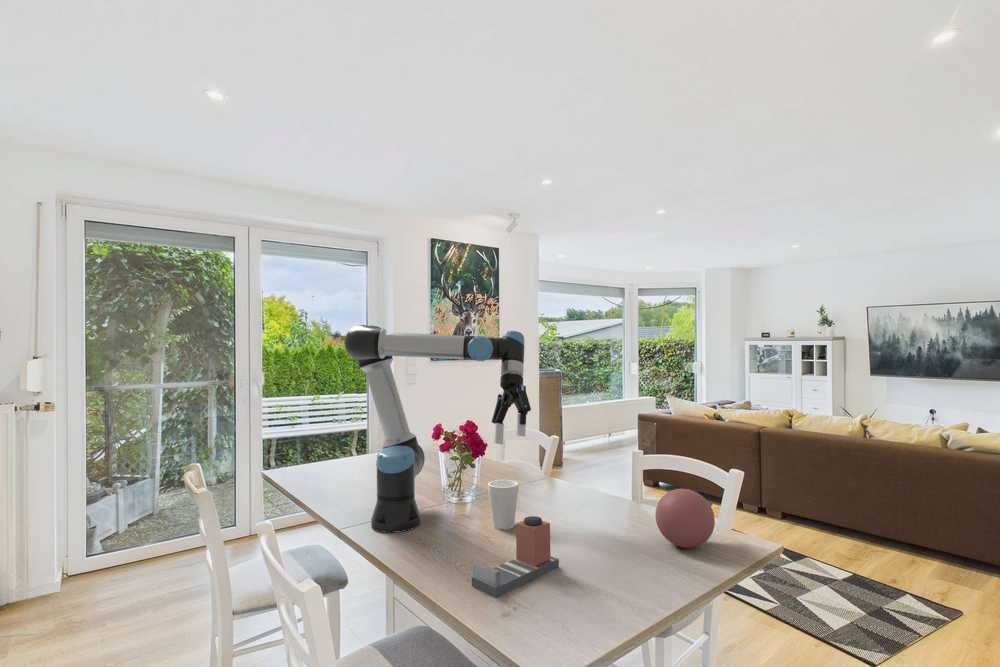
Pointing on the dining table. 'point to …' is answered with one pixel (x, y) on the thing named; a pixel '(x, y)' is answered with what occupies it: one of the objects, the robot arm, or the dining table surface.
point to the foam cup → (503, 502)
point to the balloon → (685, 518)
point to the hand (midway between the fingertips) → (509, 439)
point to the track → (508, 575)
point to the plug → (533, 541)
